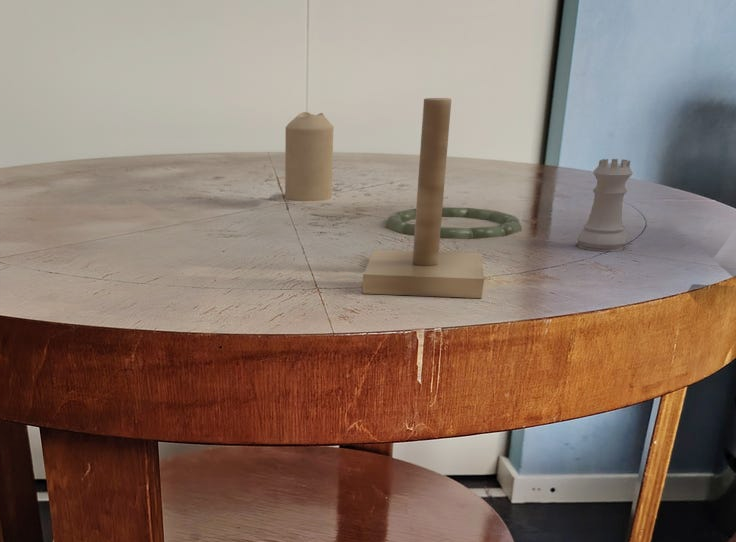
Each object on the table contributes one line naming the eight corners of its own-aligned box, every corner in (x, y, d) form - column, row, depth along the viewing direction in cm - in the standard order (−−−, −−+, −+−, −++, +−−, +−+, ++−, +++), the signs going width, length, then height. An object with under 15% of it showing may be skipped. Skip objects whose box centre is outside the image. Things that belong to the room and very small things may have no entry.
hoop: (516, 223, 95) (517, 207, 94) (523, 249, 83) (525, 231, 83) (390, 220, 97) (391, 204, 97) (380, 244, 86) (381, 227, 85)
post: (479, 271, 76) (498, 95, 69) (481, 298, 68) (502, 102, 62) (372, 267, 77) (381, 95, 71) (362, 293, 69) (371, 102, 63)
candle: (277, 202, 109) (278, 112, 104) (319, 199, 111) (321, 110, 106) (296, 209, 104) (297, 115, 100) (339, 205, 106) (342, 113, 101)
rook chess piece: (619, 262, 78) (636, 164, 74) (567, 257, 80) (581, 161, 76) (630, 253, 81) (647, 159, 78) (580, 248, 83) (594, 156, 80)
